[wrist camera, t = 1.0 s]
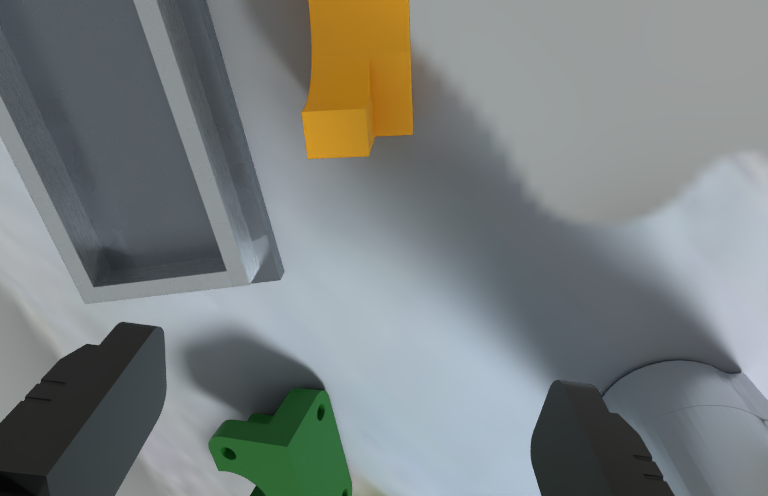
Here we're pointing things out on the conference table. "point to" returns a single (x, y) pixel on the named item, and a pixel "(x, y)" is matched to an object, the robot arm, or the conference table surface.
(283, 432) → the clamp
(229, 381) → the conference table surface
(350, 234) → the conference table surface
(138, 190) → the grey metal tray
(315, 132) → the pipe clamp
